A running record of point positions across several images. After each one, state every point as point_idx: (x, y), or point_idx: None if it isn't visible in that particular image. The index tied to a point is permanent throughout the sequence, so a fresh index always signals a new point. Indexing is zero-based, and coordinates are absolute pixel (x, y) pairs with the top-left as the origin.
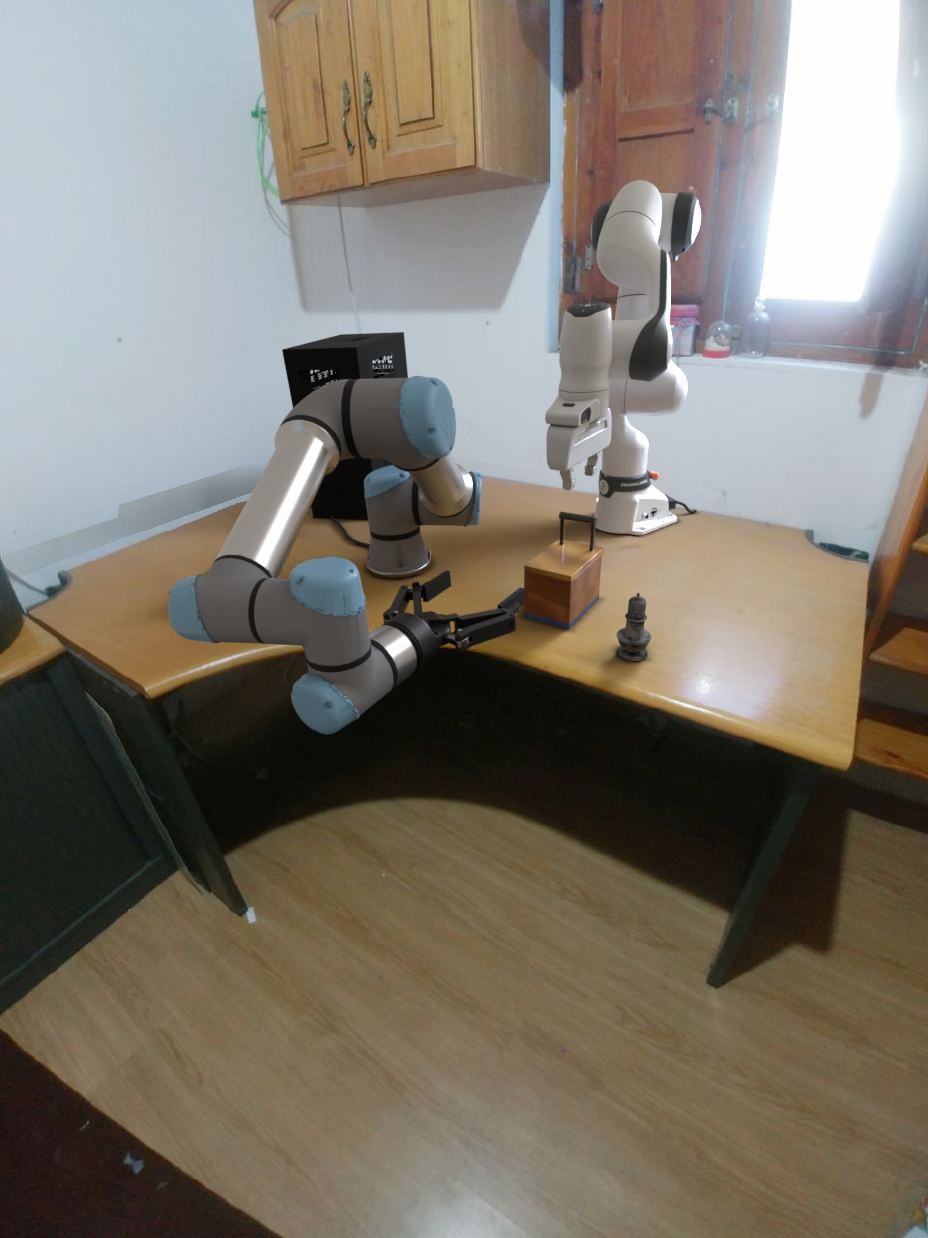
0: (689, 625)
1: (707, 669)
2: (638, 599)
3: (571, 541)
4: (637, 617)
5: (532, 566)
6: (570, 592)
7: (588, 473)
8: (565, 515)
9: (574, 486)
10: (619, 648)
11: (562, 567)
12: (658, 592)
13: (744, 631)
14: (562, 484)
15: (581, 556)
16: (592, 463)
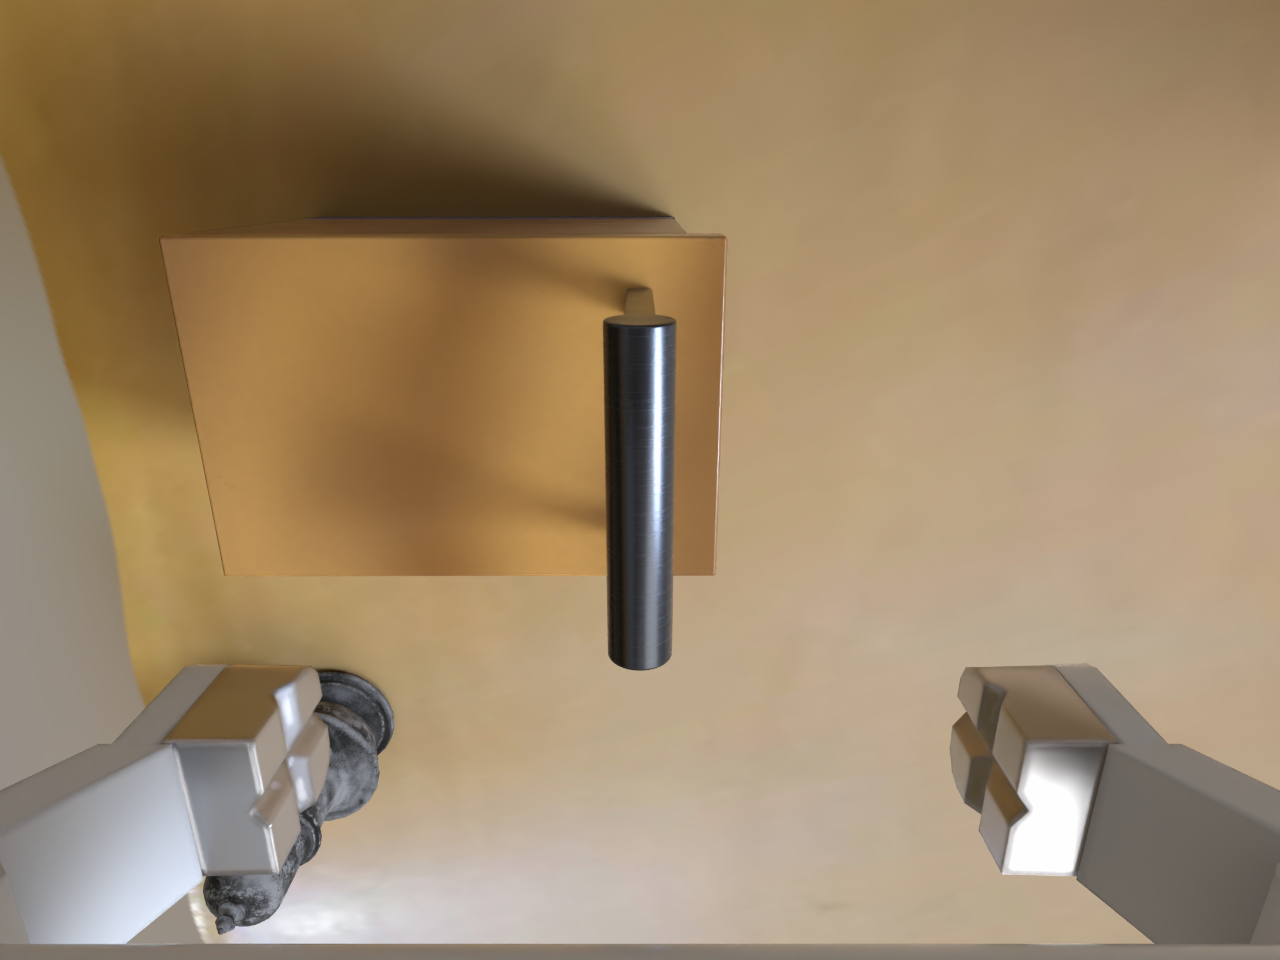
0: (640, 808)
1: (403, 910)
2: (220, 915)
3: (716, 343)
4: None
5: (184, 299)
6: None
7: (973, 727)
8: (608, 393)
9: (319, 785)
10: (320, 684)
11: (295, 481)
12: (856, 647)
13: (690, 942)
14: (162, 691)
15: (511, 512)
16: (1122, 859)
